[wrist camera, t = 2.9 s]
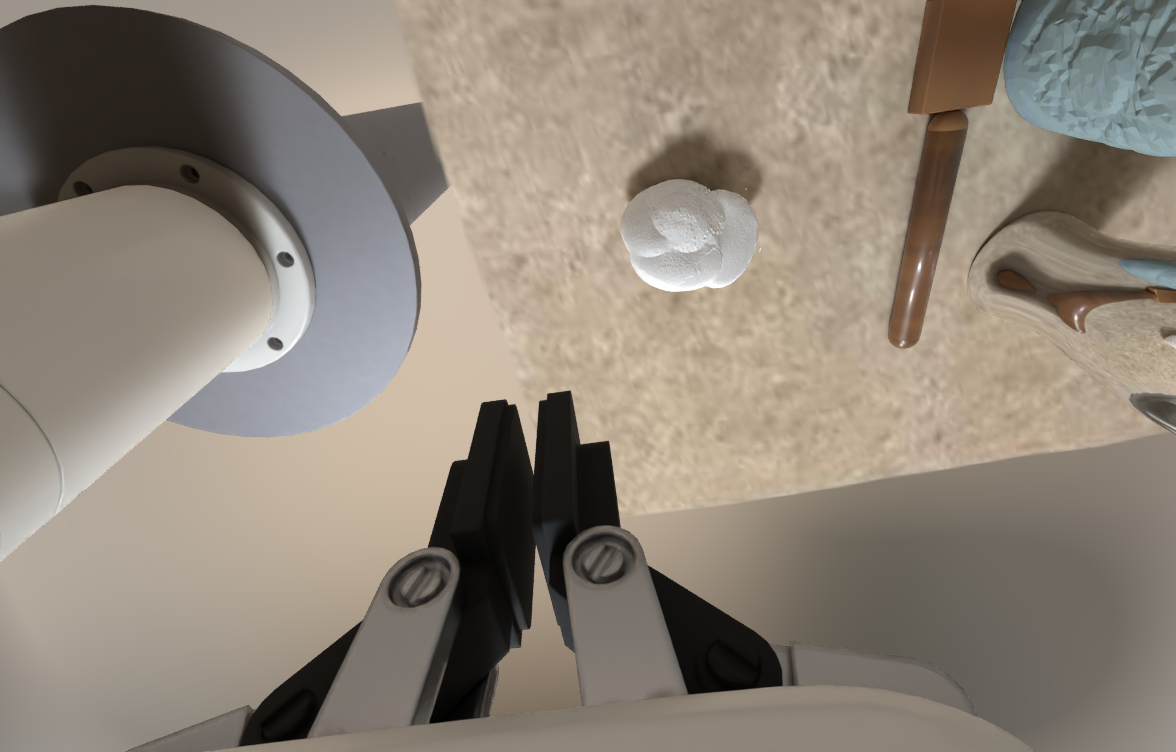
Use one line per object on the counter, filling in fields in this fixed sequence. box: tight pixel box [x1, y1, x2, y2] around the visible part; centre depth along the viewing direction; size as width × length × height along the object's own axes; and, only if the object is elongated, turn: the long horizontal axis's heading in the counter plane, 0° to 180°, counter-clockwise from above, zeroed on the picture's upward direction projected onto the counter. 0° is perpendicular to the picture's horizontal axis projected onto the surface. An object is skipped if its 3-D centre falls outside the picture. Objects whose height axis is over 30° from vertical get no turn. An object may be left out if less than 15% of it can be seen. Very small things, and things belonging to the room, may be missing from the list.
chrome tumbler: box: [967, 211, 1176, 434], centre depth 22 cm, size 7×7×15 cm
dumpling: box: [620, 179, 762, 291], centre depth 25 cm, size 7×5×4 cm
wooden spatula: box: [888, 0, 1017, 349], centre depth 26 cm, size 17×3×2 cm, turn 8°
